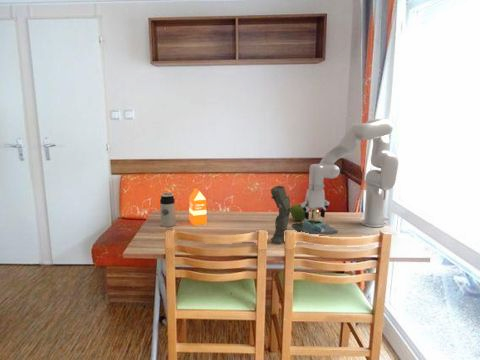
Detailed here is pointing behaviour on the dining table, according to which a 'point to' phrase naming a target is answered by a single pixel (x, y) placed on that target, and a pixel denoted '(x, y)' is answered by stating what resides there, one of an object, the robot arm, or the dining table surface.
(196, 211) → the orange juice
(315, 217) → the coupler
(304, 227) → the shaft mount
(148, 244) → the dining table surface
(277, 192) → the mechanical leg
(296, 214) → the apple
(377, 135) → the robot arm
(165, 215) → the travel mug
